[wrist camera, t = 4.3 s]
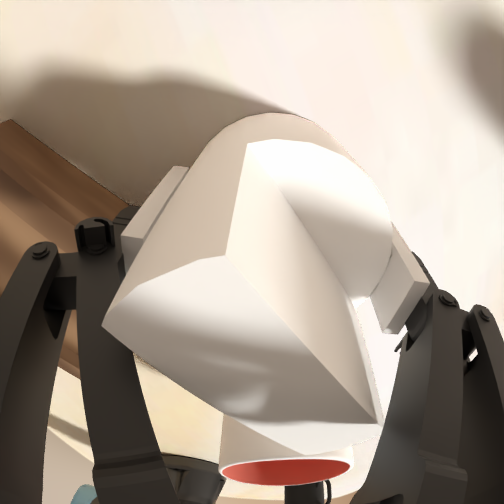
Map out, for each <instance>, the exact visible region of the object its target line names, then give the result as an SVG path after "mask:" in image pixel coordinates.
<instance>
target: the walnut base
mask: <svg viewBox="0 0 504 504" xmlns="http://www.w3.org/2000/svg"><path fill="white" fill-rule="evenodd" d="M128 206H130V205H128V204H127V203H125V202H124V201H123V200H121V199H120V198H118V197H117V196H115V195H114V194H112V193H111V192H110V191H108V190H107V189H105V188H104V187H103V186H101V185H100V184H98V183H97V182H95V181H94V180H93V179H91V178H90V177H88V176H87V175H86V174H84V173H83V172H81V171H80V170H79V169H77V168H76V167H75V166H73V165H72V164H70V163H69V162H68V161H66V160H65V159H63V158H62V157H61V156H59V155H58V154H57V153H55V152H54V151H53V150H51V149H50V148H48V147H47V146H46V145H44V144H43V143H42V142H40V141H39V140H38V139H36V138H35V137H34V136H32V135H31V134H30V133H28V132H27V131H26V130H24V129H23V128H22V127H20V126H19V125H18V124H16V123H15V122H14V121H12V120H11V119H10V120H8V121H5V122H3V123H1V124H0V297H1V295H2V293H3V291H4V289H5V287H6V285H7V283H8V281H9V280H10V278H11V276H12V274H13V272H14V270H15V269H16V267H17V265H18V263H19V262H20V260H21V258H22V256H23V255H24V253H25V252H26V250H27V249H28V248H29V247H31V246H32V245H34V244H35V243H38V242H44V241H48V242H53V243H54V244H56V246H57V248H58V252H59V253H74V252H78V249H77V243H76V238H75V232H74V229H75V227H76V225H77V224H78V223H79V222H80V221H83V220H85V219H87V218H92V217H104V218H108V219H109V220H111V221H113V219H114V218H115V217H116V216H117V214H118V213H119V212H120V211H121V210H123V209H124V208H126V207H128ZM132 352H133V351H132ZM58 366H59V367H60V368H62V369H63V370H65V371H67V372H68V373H70V374H72V375H73V376H75V377H77V378H79V379H80V380H81V378H80V368H79V356H78V341H77V314H76V310H72V312H71V315H70V319H69V322H68V326H67V329H66V333H65V337H64V341H63V345H62V349H61V353H60V358H59V362H58Z"/></svg>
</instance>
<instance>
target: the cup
mask: <svg viewBox="0 0 504 504" xmlns="http://www.w3.org/2000/svg"><path fill="white" fill-rule="evenodd" d="M353 466H354V460H353V451H352V446H351V447H347V448H343V449H339V450H334V451H330V452H325V453H320V454H314V455H303V454H301V453H299V452H297V451H295V450H293V449H290V448H288V447H286V446H284V445H282V444H280V443H278V442H276V441H274V440H272V439H270V438H268V437H266V436H264V435H262V434H260V433H258V432H256V431H255V430H253V429H251V428H249V427H247V426H245V425H244V424H242V423H240V422H238V421H236V420H235V419H233V418H231V417H229V416H228V415H226V414H224V416H223V425H222V436H221V446H220V456H219V467H218V471H219V473H220V474H221V475H222V476H224V477H226V478H228V479H231V480H234V481H237V482H242V483H247V484H254V485H266V486H288V485H301V484H309V483H315V482H320V481H324V480H328V479H331V478H335V477H337V476H340V475H342V474H344V473H346V472H348V471H349V470H351V469H352V467H353Z"/></svg>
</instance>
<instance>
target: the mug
mask: <svg viewBox="0 0 504 504" xmlns="http://www.w3.org/2000/svg"><path fill="white" fill-rule="evenodd" d="M324 481H325V482H326V484H327V494H328V498H327V502H326V503H325V504H330V502H331V497H332V496H331V484H330V481H329V479H328V480H324ZM285 504H324V488H323V481H320V482H315V483H309V484H301V485H288V486H285Z"/></svg>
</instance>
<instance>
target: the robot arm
mask: <svg viewBox="0 0 504 504" xmlns="http://www.w3.org/2000/svg"><path fill="white" fill-rule="evenodd" d="M188 171H189V167H183V166H173V167H172V168H171V170H170V171H169V172H168V173H167V175H166V176H165V177H164V178H163V179H162V181H161V182H160V183H159V184H158V186H157V187H156V188H155V190H154V191H153V192H152V193H151V195H150V196H149V197H148V199H147V200H146V201H145V202H144V204H143V205H142V206H141V207H138V206H128V207H126V208H124V209H123V210H121V211H120V212H119V213H118V214H117V216H116V217H115V218H114V219H113V221H111V220H109V219H108V218H104V217H92V218H87V219H85V220H83V221H80V222H79V223H78V224H77V225H76V227H75V229H74V232H75V238H76V243H77V249H78V252H74V253H59V252H58V248H57V246H56V244H54V243H53V242H48V241H44V242H38V243H35V244H34V245H32V246H31V247H29V248H28V249H27V250H26V252H25V253H24V255H23V256H22V258H21V260H20V262H19V263H18V265H17V267H16V269H15V270H14V272H13V274H12V276H11V278H10V280H9V281H8V283H7V285H6V287H5V289H4V291H3V293H2V295H1V297H0V504H42V491H43V465H44V452H45V441H46V432H47V424H48V417H49V410H50V404H51V398H52V392H53V386H54V381H55V376H56V371H57V367H58V362H59V358H60V353H61V349H62V345H63V341H64V337H65V333H66V329H67V326H68V322H69V319H70V315H71V312H72V310H76V314H77V341H78V356H79V368H80V378H81V387H82V395H83V402H84V409H85V415H86V421H87V427H88V432H89V437H90V442H91V447H92V451H93V456H94V467H93V470H92V473H93V482H94V486H92V485H86V484H85V485H82V486H80V487H79V489H78V490H77V492H76V493H75V495H74V497H73V499H72V501H71V504H215V503H216V500H217V498H218V496H219V494H220V492H221V490H222V488H223V486H224V484H225V482H226V477H224V476H222V475H221V474H220V473H219V471H218V467H219V465H217V464H214V463H210V462H207V461H202V460H198V459H193V458H187V457H180V456H170V455H161V452H160V449H159V446H158V443H157V440H156V437H155V434H154V431H153V427H152V424H151V421H150V418H149V414H148V411H147V407H146V404H145V400H144V397H143V393H142V389H141V385H140V381H139V377H138V373H137V369H136V365H135V361H134V356H133V352H132V350H130V349H129V348H128V347H126V346H125V345H124V344H123V343H121V342H120V341H119V340H118V339H116V338H115V337H114V336H113V335H112V334H110V333H109V332H108V331H107V330H106V329H104V328H103V327H102V326H101V325H102V323H103V320H104V317H105V315H106V313H107V311H108V309H109V307H110V305H111V303H112V301H113V299H114V297H115V295H116V293H117V291H118V289H119V287H120V286H121V284H122V282H123V280H124V278H125V276H126V274H127V272H128V271H129V269H130V267H131V265H132V263H133V262H134V260H135V258H136V256H137V254H138V253H139V251H140V249H141V247H142V246H143V244H144V242H145V241H146V239H147V237H148V235H149V234H150V232H151V230H152V229H153V227H154V225H155V224H156V222H157V220H158V219H159V217H160V215H161V214H162V212H163V210H164V209H165V207H166V206H167V204H168V202H169V201H170V199H171V198H172V196H173V195H174V193H175V191H176V190H177V188H178V187H179V185H180V184H181V182H182V181H183V179H184V178H185V176H186V175H187V173H188ZM391 223H392V222H391ZM392 227H393V235H392V252H391V256H390V259H389V262H388V265H387V267H386V270H385V272H384V274H383V276H382V278H381V280H380V282H379V283H378V285H377V286H376V288H375V289H374V290H373V292H372V293H371V295H370V298H371V301H372V304H373V306H374V309H375V312H376V315H377V318H378V321H379V324H380V327H381V330H382V333H384V334H398V333H399V332H400V331H401V329H402V328H403V326H404V325H406V327H407V330H408V332H407V333H406V335H405V336H404V337H403V339H402V340H401V342H400V343H399V344H398V346H397V347H396V349H395V352H397V351H398V349H399V348H401V352H400V359H399V364H398V369H397V374H396V378H395V383H394V387H393V392H392V396H391V400H390V404H389V408H388V412H387V416H386V419H385V423H384V426H383V430H382V433H381V437H380V440H379V443H378V446H377V449H376V452H375V455H374V458H373V461H372V464H371V467H370V470H369V473H368V475H367V478H366V480H365V483H364V484H363V486H362V487H361V488H360V489H359V490H358V491H357V493H356V494H355V495H354V497H353V498H352V500H351V502H350V504H504V341H503V338H502V336H501V333H500V331H499V328H498V326H497V323H496V321H495V318H494V317H493V315H492V314H491V312H490V311H489V310H488V309H486V307H484V306H481V305H477V304H476V305H474V306H473V308H472V309H471V311H470V312H467V311H464V310H462V309H460V308H459V304H458V302H457V300H456V299H455V298H454V297H453V296H452V295H451V294H450V293H448V292H446V291H444V290H441V289H438V287H437V285H436V284H435V282H434V280H433V279H432V277H431V275H430V274H429V273H428V270H427V269H426V268H425V266H424V264H423V262H422V261H421V259H420V258H419V257H418V256H417V255H416V254H415V253H414V252H411V251H410V249H409V247H408V246H407V244H406V243H405V241H404V240H403V238H402V237H401V235H400V234H399V232H398V231H397V229H396V228H395V226H394V225H393V223H392ZM475 349H477V352H478V355H477V356H476V357H475V358H474V359H473V360H472V361H470V359H469V356H470V355H471V354H472V353H473V351H474V350H475Z"/></svg>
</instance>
